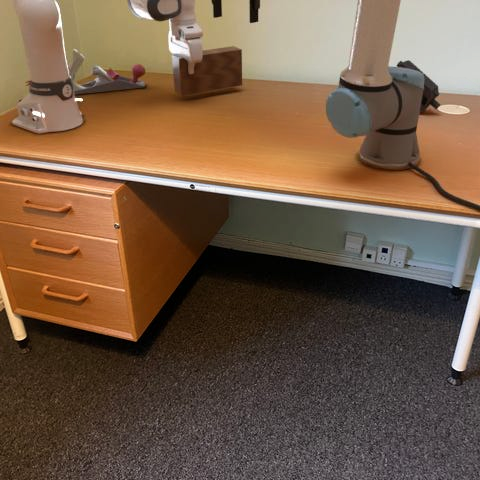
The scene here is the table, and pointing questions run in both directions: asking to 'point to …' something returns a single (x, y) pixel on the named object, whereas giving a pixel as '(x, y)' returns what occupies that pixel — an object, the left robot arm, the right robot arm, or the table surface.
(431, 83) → the tool
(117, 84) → the hand plane
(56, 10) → the left robot arm
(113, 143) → the table surface
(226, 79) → the box
